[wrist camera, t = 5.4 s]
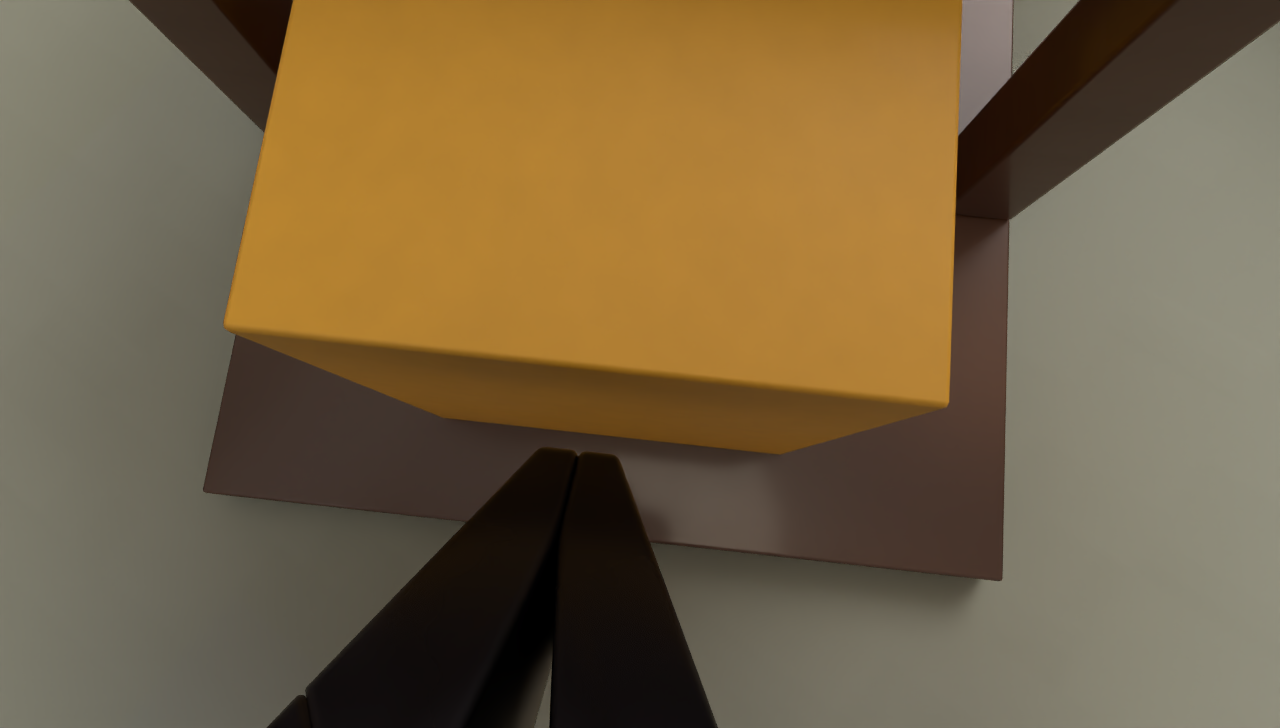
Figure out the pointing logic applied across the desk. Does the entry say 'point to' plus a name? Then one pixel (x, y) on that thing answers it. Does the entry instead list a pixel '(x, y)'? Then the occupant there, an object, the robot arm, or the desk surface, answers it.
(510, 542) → the robot arm
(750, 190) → the box
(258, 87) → the shelf
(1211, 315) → the desk surface
